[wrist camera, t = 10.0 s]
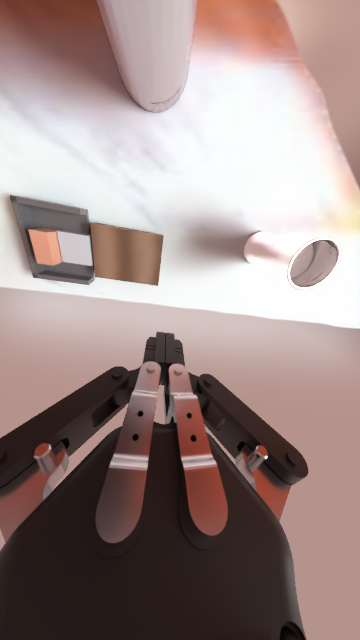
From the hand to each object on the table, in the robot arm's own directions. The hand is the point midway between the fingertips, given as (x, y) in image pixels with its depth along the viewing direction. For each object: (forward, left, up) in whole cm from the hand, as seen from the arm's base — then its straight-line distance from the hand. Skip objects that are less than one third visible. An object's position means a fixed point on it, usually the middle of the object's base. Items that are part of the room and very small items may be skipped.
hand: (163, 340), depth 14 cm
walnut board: (-5, -5, -24) cm, 25 cm away
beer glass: (+3, +19, -24) cm, 31 cm away
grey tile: (-10, -13, -23) cm, 28 cm away
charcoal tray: (-12, -15, -24) cm, 31 cm away
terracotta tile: (-11, -15, -21) cm, 28 cm away
